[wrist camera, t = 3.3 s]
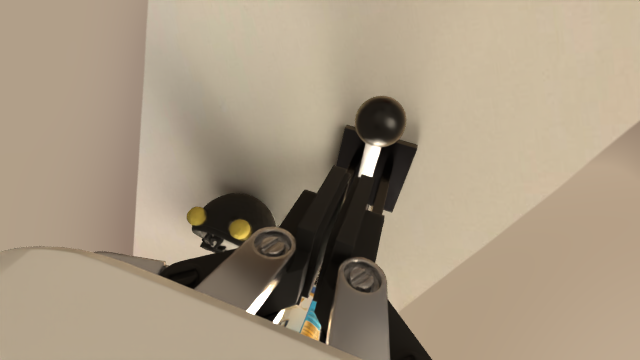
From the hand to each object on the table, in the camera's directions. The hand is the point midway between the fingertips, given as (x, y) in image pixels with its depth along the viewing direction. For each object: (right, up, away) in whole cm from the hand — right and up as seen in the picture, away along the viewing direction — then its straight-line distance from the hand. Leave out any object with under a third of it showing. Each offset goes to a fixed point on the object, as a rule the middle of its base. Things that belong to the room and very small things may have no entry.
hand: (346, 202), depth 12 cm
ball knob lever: (+3, +2, +14) cm, 14 cm away
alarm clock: (-12, -5, +39) cm, 41 cm away
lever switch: (+6, +2, +28) cm, 29 cm away
